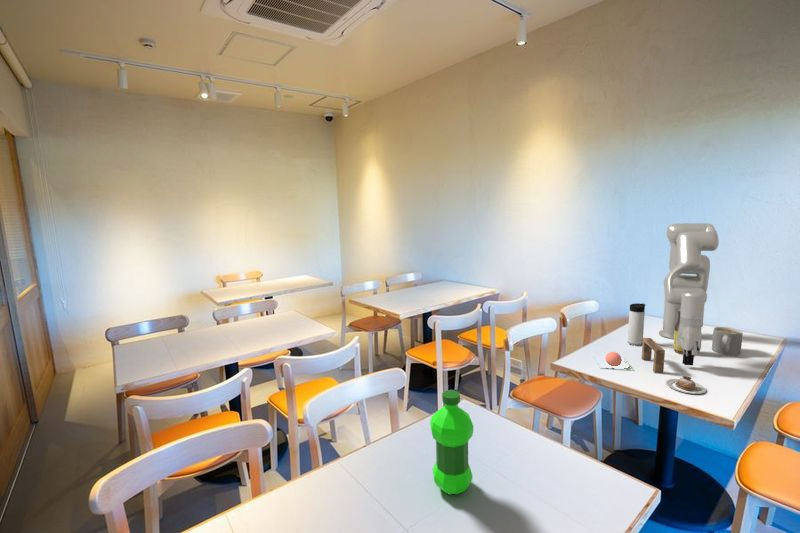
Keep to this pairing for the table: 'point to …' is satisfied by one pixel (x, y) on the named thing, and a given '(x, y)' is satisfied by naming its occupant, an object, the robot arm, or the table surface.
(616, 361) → the ball
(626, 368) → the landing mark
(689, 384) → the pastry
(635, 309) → the travel mug
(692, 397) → the table surface
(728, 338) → the coffee mug
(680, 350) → the sauce bottle
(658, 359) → the bridge
